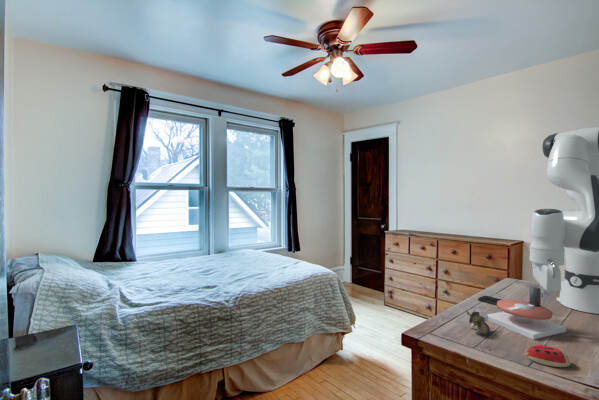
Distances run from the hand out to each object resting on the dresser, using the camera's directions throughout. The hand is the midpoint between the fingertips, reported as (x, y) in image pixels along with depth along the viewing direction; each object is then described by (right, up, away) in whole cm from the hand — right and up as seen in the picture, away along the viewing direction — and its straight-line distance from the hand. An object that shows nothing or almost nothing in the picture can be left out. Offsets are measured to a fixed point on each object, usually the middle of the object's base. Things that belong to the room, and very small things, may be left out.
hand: (545, 299), depth 96 cm
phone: (+2, -11, +24) cm, 26 cm away
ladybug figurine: (-15, -11, -19) cm, 26 cm away
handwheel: (-5, -5, +3) cm, 8 cm away
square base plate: (-5, -10, +3) cm, 12 cm away
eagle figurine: (-23, -10, -1) cm, 25 cm away
